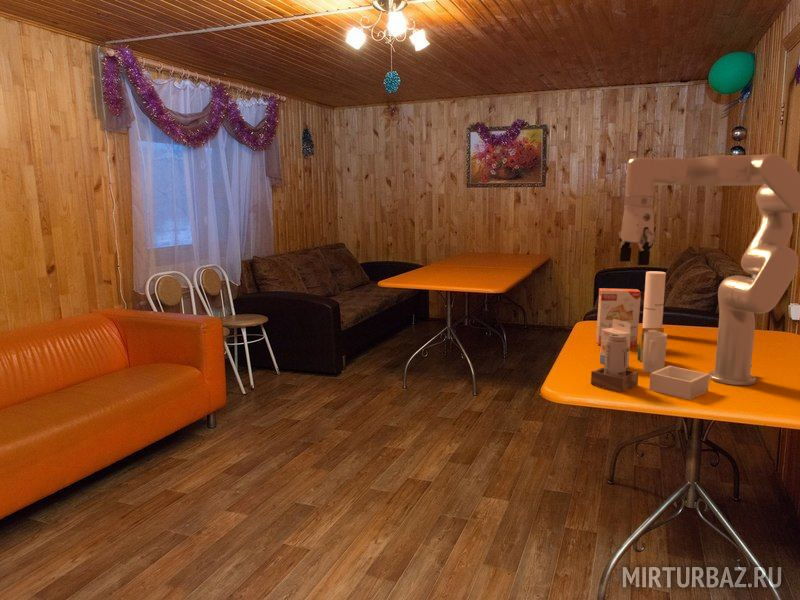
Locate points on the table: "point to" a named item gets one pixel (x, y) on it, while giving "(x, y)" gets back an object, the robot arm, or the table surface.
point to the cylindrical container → (654, 300)
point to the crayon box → (641, 341)
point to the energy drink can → (615, 355)
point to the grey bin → (679, 382)
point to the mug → (654, 351)
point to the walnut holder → (614, 380)
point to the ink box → (615, 330)
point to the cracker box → (618, 310)
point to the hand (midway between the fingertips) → (633, 263)
